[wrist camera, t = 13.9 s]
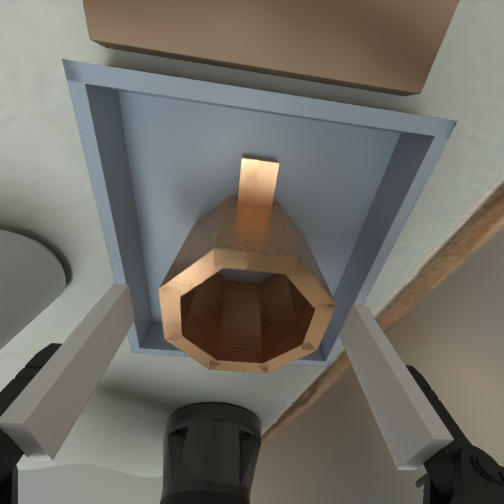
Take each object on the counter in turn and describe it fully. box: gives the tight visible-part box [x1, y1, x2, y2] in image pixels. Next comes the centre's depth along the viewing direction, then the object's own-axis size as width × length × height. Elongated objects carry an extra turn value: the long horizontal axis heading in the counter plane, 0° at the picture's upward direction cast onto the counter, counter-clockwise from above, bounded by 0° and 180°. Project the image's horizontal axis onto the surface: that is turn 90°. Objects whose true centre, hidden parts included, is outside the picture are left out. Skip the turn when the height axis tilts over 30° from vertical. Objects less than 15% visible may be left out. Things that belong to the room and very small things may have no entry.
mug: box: [158, 155, 337, 373], centre depth 15 cm, size 12×9×8 cm
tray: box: [62, 59, 457, 367], centre depth 18 cm, size 22×20×4 cm
